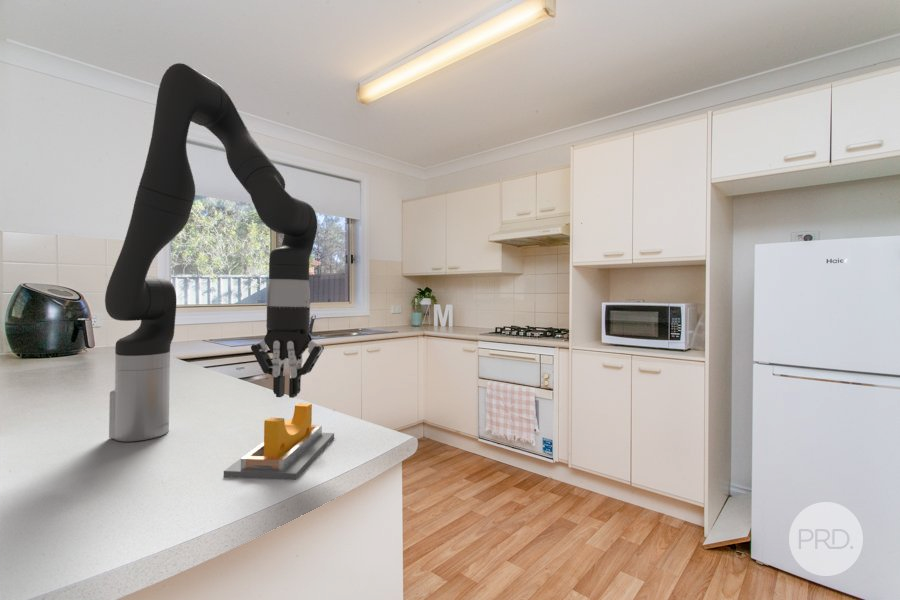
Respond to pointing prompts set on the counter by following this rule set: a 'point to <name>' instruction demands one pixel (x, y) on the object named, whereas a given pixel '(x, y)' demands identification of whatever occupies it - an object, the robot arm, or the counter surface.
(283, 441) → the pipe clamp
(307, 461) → the mounting board
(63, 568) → the counter surface
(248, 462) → the long hollow rectangular frame
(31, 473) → the counter surface
